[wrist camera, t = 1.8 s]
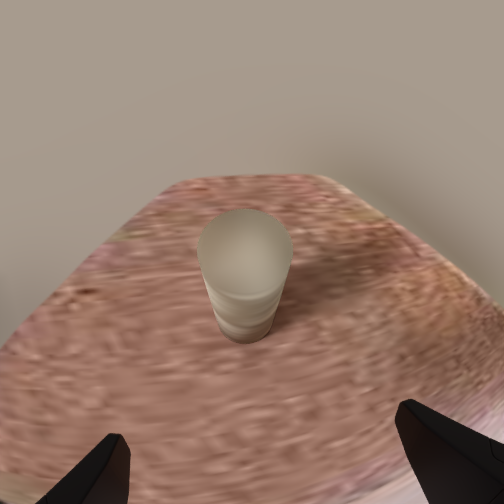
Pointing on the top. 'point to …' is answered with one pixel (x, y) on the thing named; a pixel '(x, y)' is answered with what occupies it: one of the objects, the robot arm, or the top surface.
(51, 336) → the top surface
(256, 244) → the birch pin
